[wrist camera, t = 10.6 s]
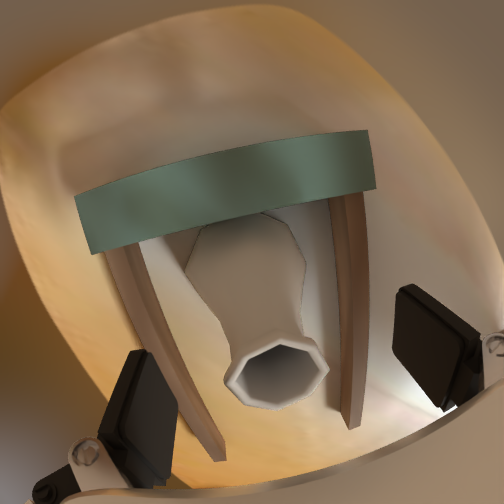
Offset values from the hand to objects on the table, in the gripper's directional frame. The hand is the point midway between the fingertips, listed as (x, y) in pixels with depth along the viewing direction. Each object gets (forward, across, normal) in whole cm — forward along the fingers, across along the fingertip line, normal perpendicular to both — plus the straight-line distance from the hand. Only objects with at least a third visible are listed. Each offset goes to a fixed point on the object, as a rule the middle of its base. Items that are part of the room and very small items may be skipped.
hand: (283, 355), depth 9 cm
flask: (+9, +1, 0) cm, 9 cm away
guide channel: (+9, +1, +5) cm, 10 cm away
